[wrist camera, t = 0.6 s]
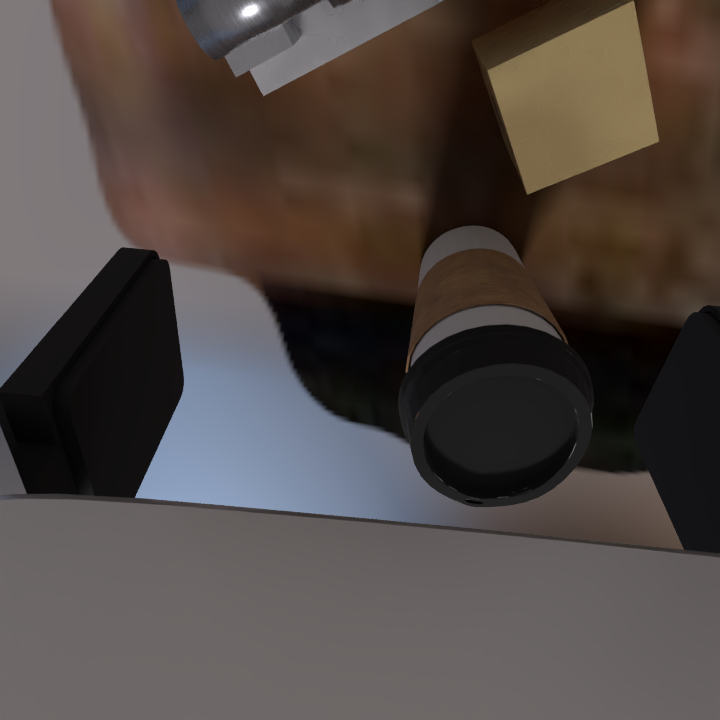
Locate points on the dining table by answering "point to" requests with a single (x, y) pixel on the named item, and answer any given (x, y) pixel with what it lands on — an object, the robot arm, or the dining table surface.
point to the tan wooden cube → (568, 87)
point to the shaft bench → (334, 36)
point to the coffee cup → (490, 377)
